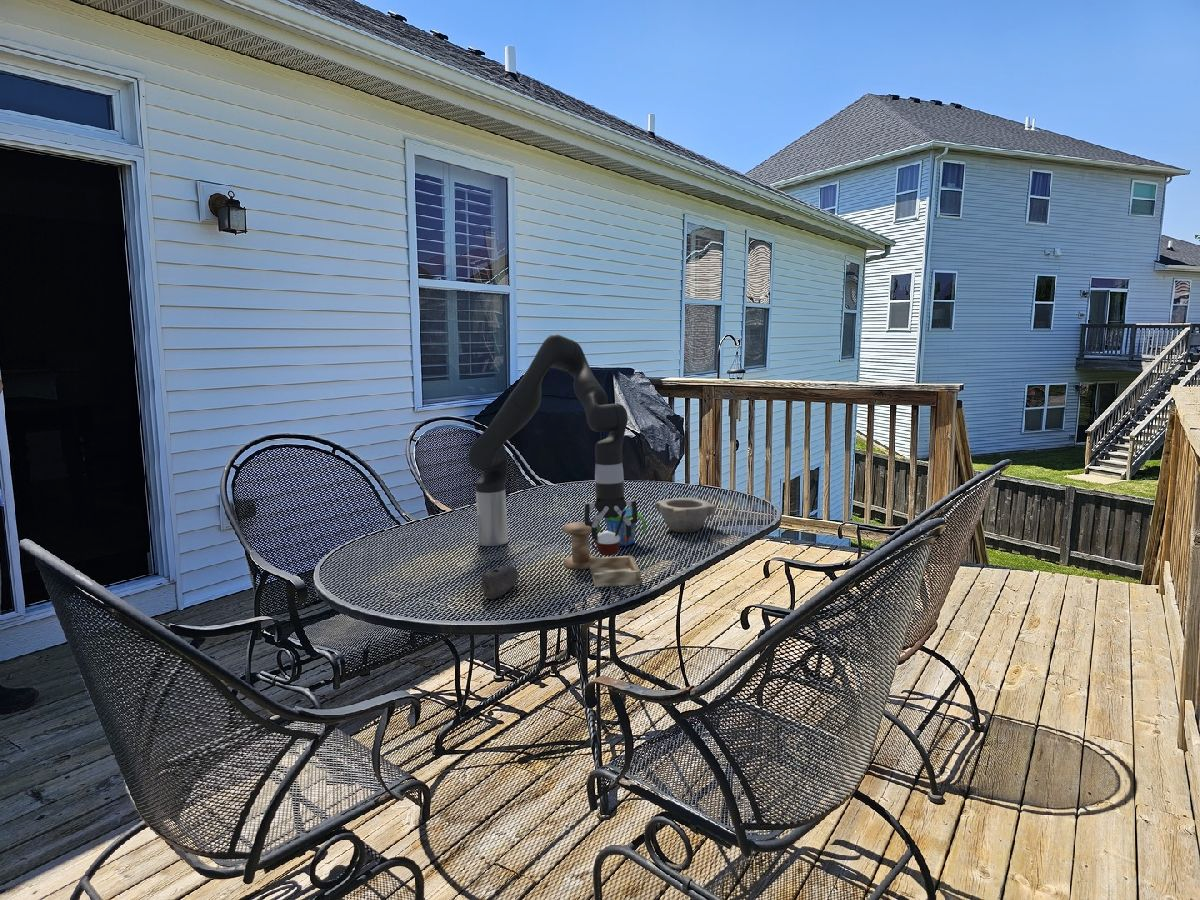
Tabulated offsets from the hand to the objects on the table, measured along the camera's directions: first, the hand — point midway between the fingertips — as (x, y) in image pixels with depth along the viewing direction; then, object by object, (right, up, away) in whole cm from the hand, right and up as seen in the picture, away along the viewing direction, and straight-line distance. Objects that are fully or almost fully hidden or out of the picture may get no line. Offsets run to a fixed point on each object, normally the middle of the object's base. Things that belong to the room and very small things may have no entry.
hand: (611, 539), depth 196 cm
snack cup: (+4, -5, +33) cm, 33 cm away
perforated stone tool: (-28, -13, -8) cm, 32 cm away
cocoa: (-1, -4, +1) cm, 4 cm away
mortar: (+25, -3, +47) cm, 53 cm away
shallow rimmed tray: (+1, -10, +2) cm, 10 cm away
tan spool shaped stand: (-8, -9, +14) cm, 18 cm away
